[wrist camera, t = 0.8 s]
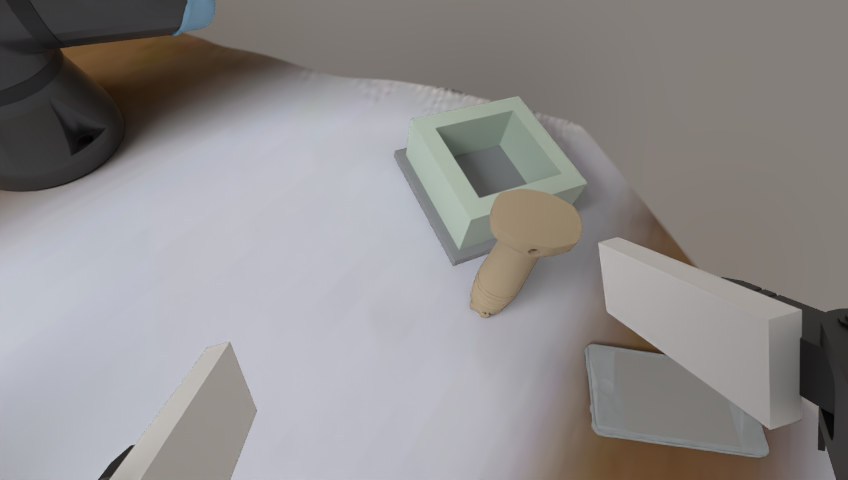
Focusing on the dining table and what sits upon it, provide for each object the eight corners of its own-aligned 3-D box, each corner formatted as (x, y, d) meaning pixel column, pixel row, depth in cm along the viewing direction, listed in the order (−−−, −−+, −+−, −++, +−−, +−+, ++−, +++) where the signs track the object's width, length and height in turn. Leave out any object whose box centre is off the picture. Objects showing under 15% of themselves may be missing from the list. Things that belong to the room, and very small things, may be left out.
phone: (580, 345, 42) (586, 341, 41) (734, 369, 43) (744, 365, 42) (589, 435, 38) (596, 433, 36) (761, 459, 38) (773, 457, 37)
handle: (515, 332, 41) (584, 254, 29) (450, 321, 41) (491, 237, 28) (515, 288, 44) (579, 198, 31) (454, 277, 44) (494, 182, 31)
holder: (394, 156, 51) (398, 114, 46) (505, 129, 57) (521, 89, 51) (453, 265, 44) (466, 231, 39) (574, 223, 49) (600, 187, 44)
